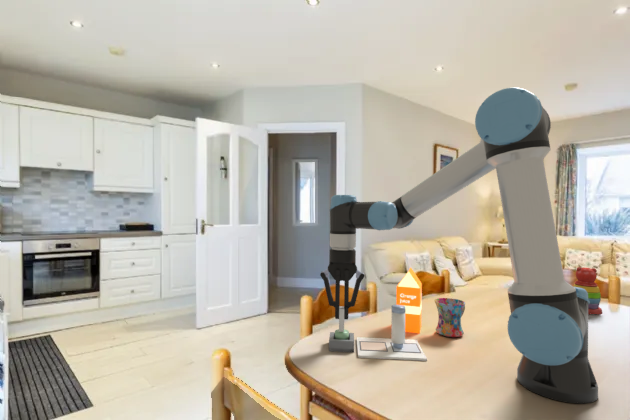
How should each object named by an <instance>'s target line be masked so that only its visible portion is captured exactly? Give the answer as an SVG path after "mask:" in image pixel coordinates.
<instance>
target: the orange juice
mask: <svg viewBox="0 0 630 420" xmlns="http://www.w3.org/2000/svg"><path fill="white" fill-rule="evenodd" d="M422 287H423V283H422V281H421V280H420V278H419V277H418V276H417V274H416V273H415V271H414V270H413V268H412V267H410V268H409V269H408V270H407V272H406V274H405V275H404V276H403V277H402V279H401V280H400V281H399V282H398V284H397V285H396V304H395V305H403V306H405V307H406V312H405V333H414V334H420V333H421V329H422V310H423V309H422V308H423V307H422V306H423V305H422V304H423V303H422V302H423V299H422V297H423V293H422V292H423V291H422V290H423V289H422Z"/></svg>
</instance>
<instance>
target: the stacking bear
mask: <svg viewBox="0 0 630 420" xmlns="http://www.w3.org/2000/svg"><path fill="white" fill-rule="evenodd" d="M575 277H576V279H577V280H575V281H574V284H573V285H572V286H573V287H579V288H583V289H585V290H586V291H587V293H588V300H589V304H588V315H591V314H597V315H601V314H602V313H603V309H602V308H601V307H600V303H601V301H602V300H601V299H602V298H601V297H602V294H601V292H600V287H599V286H598V284H597V283H596V280H597V269H596V268H593V267H592V268H591V267H581V266H578V267H576V271H575Z"/></svg>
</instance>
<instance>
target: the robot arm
mask: <svg viewBox="0 0 630 420" xmlns="http://www.w3.org/2000/svg"><path fill="white" fill-rule="evenodd" d="M474 117H475V118H474V124H475V129H476V132H477V135H478V137H479V138H480V141H479V143H477V144H476V145H475V146H473V147H471V148H470V149H469V150H467V151H465V152H464V153H462V154H461V155H460V156H458V157H457V158H456V159H453V160H452V161H451V162H450V163H448V164H447V165H445V166H444V167H441V169H439V170H438V171H436V172H435V173H433V174H432V175H431V176H428V177H427V178H426V179H424V180H423V181H421V182H420V183H419V184H417V185H416V186H414V187H412V188H411V189H410V190H408V191H407V192H405V193H404V194H403V195H401V196H400V197H398V198H397V199H395V200H393V201H392V202H390V201H378V200H377V201H358V200H357V196H355V194H336V195H332V196H331V197H330V207H329V208H330V209H329V221H330V222H329V223H330V224H329V226H330V228H329V229H330V231H329V247H330V249H329V263H328V266H327V268H326V269H324V270H323V271H320V275H319V276H320V277H321V279H322V280H323V284H324V289H325V292H326V293H325V294H326V298H327V302H328V305H329V306H331V307H334V318H335V320H338V329H339V332H344V329H345V320H348V319H349V308H352V307H355V305H356V302H357V297H358V294H359V291H360V286H361V283H362V281H363V279H364V278H365V272H362V271H361V270H358V267H357V265H356V260H357V259H356V258H357V257H356V252H357V251H356V249H355V248H356V247H357V243H356V242H357V229H361V230H362V229H363V230H377V231H389V230H392V229H397V230H398V229H404V228H407V227H409V226H410V225H411V224H412V223H413V221H414V220H415V219H416V218H418V217H419V216H421V215H423V214H424V213H426V212H427V211H429V210H431V209H432V208H434V207H435V206H437V205H439V204H441V203H442V202H444V201H445V200H447V199H449V198H450V197H452V196H454V195H456V194H457V193H458V192H460V191H461V190H463V189H465V188H466V187H468V186H470V185H471V184H473V183H475V182H476V181H478V180H479V179H481V178H483V177H484V176H486V175H488V174H489V173H490V172H492V171H494V170H495V171H496V176H497V182H498V183H497V184H498V188H499V194H500V202H501V208H502V213H503V214H502V215H503V219H504V226H505V231H506V232H505V233H506V237H507V238H506V239H507V244H508V249H509V250H508V251H509V257H510V262H511V270H512V274H513V283H512V285H511V286H509V287H508V289H507V296H508V304H509V309H510V314H509V316H508V321H507V334H508V337H509V339H510V342H511V343H512V345H513V346H514V349H516V350H517V351H518V352H519V353H520V354H522V356H521V359H520V361H519V363H518V366H517V370H516V377H517V378H516V379H517V381H518V382H519V384H520V385H521V386H523V387H524V388H525V389H527V390H528V391H531V393H534V394H536V395H539V396H542V397H545V398H547V399H550V400H555V401H558V402H563V403H568V404H590V403H594V402H595V401H597V400H598V398H599V385H598V382H597V380H596V377H595V374H594V371H593V369H592V365H591V362H590V360H589V314H588V304H589V300H588V293H587V291H586V290H585V289H583V288H579V287H573V286H574V285H572V284H570V283H569V282H568V281H567V280H565V277H564V275H565V274H564V271H563V265H562V260H561V259H562V258H561V254H560V248H559V243H558V236H557V231H556V226H555V219H554V214H553V209H552V208H553V207H552V201H551V197H550V192H549V191H550V190H549V186H548V179H547V174H546V169H545V163H544V159H545V158H546V156H547V155H548V154H549V153H550V152H551V144H550V138H549V135H550V131H551V128H552V127H551V123H552V122H551V119H550V115H549V113H548V112H547V110H546V109H545V108H544V106H543V105H542V102H541V100H540V99H539V97H538V96H537V95H535V93H533V92H531V91H529V90H527V89H524V88H520V87H506V88H503V89H500V90H497V91H495V92H493V93H492V94H490V95H489V96H488V97H487V98H485V100H483V102H482V103H481V105H480V106H479V107H478V109H477V111H476V114H475V116H474ZM329 274H330V275H329ZM354 275H355V278H356V280H355V283H354V288H353V291H352V295H351V299H349V296H350V295H349V293H350V291H349V290H350V287H349V285H350V281H351V279H352V278H353V277H354ZM330 276H331V277H332V279H334V281H335V291H334V292H335V295H334V296H335V297H333V294H332V293H333V292H332V289H331V284H330V281H329V277H330ZM342 281H343V282H344V288H343V289H344V294H343V295H344V299H343V302H344V303H343V305H342V306H340V299H341V298H340V297H341V296H340V295H341V282H342ZM334 299H335V300H334ZM349 300H350V301H349Z"/></svg>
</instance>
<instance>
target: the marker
mask: <svg viewBox="0 0 630 420" xmlns="http://www.w3.org/2000/svg"><path fill="white" fill-rule="evenodd" d="M405 312H406V307H405V306H403V305H396V304H392V305H391V333H390V334H391V338H390V339H391V341H392V342H393V347H394V348H397V349H401V348H403V343H405V339H406V332H405Z"/></svg>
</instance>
